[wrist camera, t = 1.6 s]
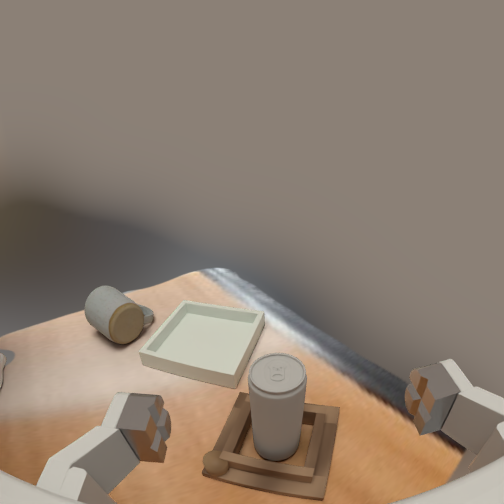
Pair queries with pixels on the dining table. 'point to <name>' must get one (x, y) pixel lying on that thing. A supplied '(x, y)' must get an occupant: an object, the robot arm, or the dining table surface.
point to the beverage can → (277, 404)
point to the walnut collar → (272, 473)
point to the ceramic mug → (116, 314)
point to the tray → (205, 342)
